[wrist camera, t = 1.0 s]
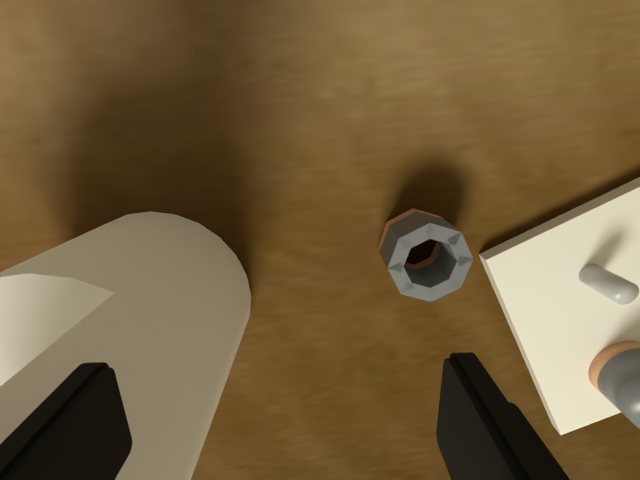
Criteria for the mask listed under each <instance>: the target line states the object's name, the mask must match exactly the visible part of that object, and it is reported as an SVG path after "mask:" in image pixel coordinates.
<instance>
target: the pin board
mask: <svg viewBox="0 0 640 480" xmlns="http://www.w3.org/2000/svg"><path fill="white" fill-rule="evenodd" d="M479 256H480V259H481V261H482V263H483V266H484V268H485V270H486V273H487V275H488V277H489V280H490V282H491V284H492V286H493V289H494V291H495V293H496V296H497V298H498V300H499V303H500V305H501V307H502V310H503V312H504V314H505V317H506V319H507V321H508V324H509V326H510V328H511V330H512V333H513V335H514V337H515V340H516V342H517V344H518V347H519V349H520V351H521V354H522V356H523V358H524V361H525V363H526V365H527V367H528V370H529V372H530V374H531V377H532V379H533V381H534V384H535V386H536V388H537V391H538V393H539V395H540V398H541V400H542V402H543V404H544V407H545V409H546V411H547V414H548V416H549V418H550V421H551V423H552V425H553V426H554V427H555V429H556V430H557V431H558V432H559V434H560V435H563V434H565V433H568V432H571V431H573V430H576V429H578V428H581V427H584V426H586V425H589V424H591V423H594V422H597V421H599V420H602V419H605V418H607V417H610V416H612V415H615V414H618V413H620V412H622V413H623V414H624V415H625V416H626V417H627V418H628V419H629V420H630V421H631V422H632V423H633V424H634V425H636V426H637V427H638V428H640V177H638V178H636V179H634V180H632V181H630V182H628V183H626V184H624V185H622V186H620V187H618V188H616V189H613V190H611V191H609V192H607V193H605V194H603V195H601V196H599V197H597V198H595V199H593V200H591V201H589V202H586V203H584V204H582V205H580V206H578V207H576V208H574V209H572V210H570V211H568V212H566V213H564V214H561V215H559V216H557V217H555V218H553V219H551V220H549V221H547V222H545V223H543V224H541V225H539V226H536V227H534V228H532V229H530V230H528V231H526V232H524V233H522V234H520V235H518V236H516V237H514V238H511V239H509V240H507V241H505V242H503V243H501V244H499V245H497V246H495V247H493V248H491V249H489V250H487V251H484V252H482V253H480V254H479Z"/></svg>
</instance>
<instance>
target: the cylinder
mask: <svg viewBox="0 0 640 480" xmlns="http://www.w3.org/2000/svg"><path fill="white" fill-rule="evenodd" d="M250 306H251V292H250V288H249V283H248V279H247V275H246V273H245V271H244V269H243V267H242V265H241V263H240V261H239V260H238V258H237V256H236V254H235V253H234V252H233V251H232V250H231V249H230V248H229V247H228V246H227V245H226V243H225V242H224V241H223V240H222V239H221V238H220V237H219V236H217V235H216V234H214V233H213V232H211V231H210V230H208V229H207V228H205V227H204V226H202V225H201V224H199V223H197V222H194V221H192V220H189V219H186V218H184V217H181V216H178V215H176V214H168V213H160V212H151V211H149V212H142V213H135V214H127V215H124V216H122V217H120V218H118V219H115V220H113V221H111V222H109V223H106V224H104V225H102V226H100V227H98V228H95V229H93V230H91V231H89V232H87V233H85V234H82V235H80V236H78V237H76V238H74V239H72V240H69V241H67V242H65V243H63V244H61V245H59V246H56V247H54V248H52V249H50V250H48V251H46V252H43V253H41V254H39V255H37V256H35V257H33V258H30V259H28V260H26V261H24V262H22V263H20V264H17V265H15V266H13V267H11V268H9V269H7V270H5V271H2V272H0V444H1V443H2V442H3V441H4V440H5V439H6V438H7V437H8V436H9V435H10V434H11V433H12V432H13V431H14V430H15V429H16V428H17V427H18V426H19V425H20V424H21V423H22V422H23V421H24V420H25V419H26V418H27V417H28V416H29V415H30V414H31V413H32V412H33V411H34V410H35V409H36V408H37V407H38V406H39V405H40V404H41V403H42V402H43V401H44V400H45V399H46V398H47V397H48V396H49V395H50V394H51V393H52V392H53V391H54V390H55V389H56V388H57V387H58V386H59V385H60V384H61V383H62V382H63V381H64V380H65V379H66V378H67V377H68V376H69V375H70V374H71V373H72V372H73V371H74V370H75V369H76V368H77V367H78V366H79V365H80V364H82V363H92V362H105V363H107V364H108V365H109V367H110V368H113V369H114V371H115V375H116V379H117V383H118V386H119V390H120V394H121V398H122V402H123V406H124V409H125V413H126V417H127V421H128V425H129V429H130V433H131V436H132V448H131V452H130V454H129V456H128V458H127V459H126V461H125V463H124V465H123V466H122V468H121V470H120V472H119V473H118V475H117V477H116V479H115V480H191V478H192V475H193V472H194V469H195V466H196V464H197V461H198V458H199V455H200V452H201V450H202V447H203V444H204V441H205V439H206V436H207V433H208V430H209V427H210V425H211V422H212V419H213V416H214V414H215V411H216V408H217V405H218V402H219V400H220V397H221V394H222V391H223V389H224V386H225V383H226V380H227V377H228V375H229V372H230V369H231V366H232V363H233V361H234V358H235V355H236V352H237V350H238V347H239V344H240V341H241V338H242V336H243V333H244V330H245V327H246V325H247V322H248V319H249V316H250Z"/></svg>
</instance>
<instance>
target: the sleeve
mask: <svg viewBox="0 0 640 480" xmlns="http://www.w3.org/2000/svg"><path fill="white" fill-rule="evenodd" d="M428 239H433V240H436V241H437V242H436V244H435V247H434V249H433V251H432V254H431V256H430V257H429V258H427V259H425V260H423V261H421V262H419V263H417V264H415V265H414V264H410V263H406V259H407V257H408V254H409V252H410V249H411V248H412V247H414V246H416V245H418V244H420V243H422V242H424V241H426V240H428ZM377 248H378V250H379V252H380V255H381V257H382V259H383V261H384V263H385V265H386V267H387V269H388V270H389V272H390V274H391V276H392V278H393V280H394V282H395V284H396V285H397V287H398V289H399V291H400V293H401V294H403V295H406V296H410V297H414V298H418V299H422V300H425V301H429V302H431V301H434V300H436V299H438V298H440V297H442V296H444V295H446V294H449V293H451V292H453V291H455V290H457V289H459V288H460V287H461V285H462V283H463V281H464V279H465V277H466V274H467V272H468V270H469V268H470V266H471V264H472V261H473V257H472V255H471V253H470V251H469V248H468V246H467V244H466V241H465V239H464V237H463V235H462V232H461V231H460V230H458V229H457V228H456V227H454V226H453V225H451V224H450V223H449V222H447V221H446V220H445V219H443V218H442V217H441V216H438V215H435V214H431V213H428V212H424V211H421V210H417V209H414V208H412V209H410V210H408V211H407V212H405V213H403V214H401V215H399V216H397V217H395V218H393V219H391V220H389V221H387V222H386V225H385V228H384V231H383V233H382V236H381V239H380V242H379V244H378V247H377Z"/></svg>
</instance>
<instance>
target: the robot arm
mask: <svg viewBox="0 0 640 480" xmlns="http://www.w3.org/2000/svg"><path fill="white" fill-rule="evenodd" d="M436 434H437V441H438V445H439V448H440V451H441V453H442V456H443V459H444V461H445V464H446V467H447V469H448V472H449V474H450V477H451V480H570V479H569V478H568V476H567V475H566V474H565V472H564V471H563V469H562V468H561V467H560V465H559V464H558V462H557V461H556V460H555V458H554V457H553V455H552V454H551V453H550V451H549V450H548V448H547V447H546V446H545V444H544V443H543V441H542V440H541V439H540V437H539V436H538V434H537V433H536V432H535V430H534V429H533V428H532V426H531V425H530V423H529V422H528V421H527V419H526V418H525V416H524V415H523V414H522V412H521V411H520V409H519V408H518V407H517V406H516V405H515V404H513V403H511V402H508V401H507V400H506V398H505V397H504V395H503V394H502V393H501V391H500V390H499V388H498V387H497V385H496V384H495V382H494V381H493V380H492V378H491V377H490V375H489V374H488V372H487V371H486V369H485V368H484V367H483V365H482V364H481V362H480V361H479V359H478V358H477V356H476V355H475V354H474V353H472V352H469V353H452V354H451V355H450V358H447V359H445V360H444V365H443V374H442V384H441V393H440V403H439V412H438V422H437V433H436ZM131 448H132V436H131V433H130V429H129V425H128V421H127V417H126V413H125V409H124V406H123V402H122V398H121V394H120V390H119V386H118V383H117V379H116V375H115V371H114V369H113V368H110V367H109V365H108V364H107V363H105V362H92V363H82V364H80V365H79V366H78V367H77V368H76V369H75V370H74V371H73V372H72V373H71V374H70V375H69V376H68V377H67V378H66V379H65V380H64V381H63V382H62V383H61V384H60V385H59V386H58V387H57V388H56V389H55V390H54V391H53V392H52V393H51V394H50V395H49V396H48V397H47V398H46V399H45V400H44V401H43V402H42V403H41V404H40V405H39V406H38V407H37V408H36V409H35V410H34V411H33V412H32V413H31V414H30V415H29V416H28V417H27V418H26V419H25V420H24V421H23V422H22V423H21V424H20V425H19V426H18V427H17V428H16V429H15V430H14V431H13V432H12V433H11V434H10V435H9V436H8V437H7V438H6V439H5V440H4V441H3V442H2V443H1V444H0V480H115V479H116V477H117V475H118V473H119V472H120V470H121V468H122V466H123V465H124V463H125V461H126V459H127V458H128V456H129V454H130V452H131Z"/></svg>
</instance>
